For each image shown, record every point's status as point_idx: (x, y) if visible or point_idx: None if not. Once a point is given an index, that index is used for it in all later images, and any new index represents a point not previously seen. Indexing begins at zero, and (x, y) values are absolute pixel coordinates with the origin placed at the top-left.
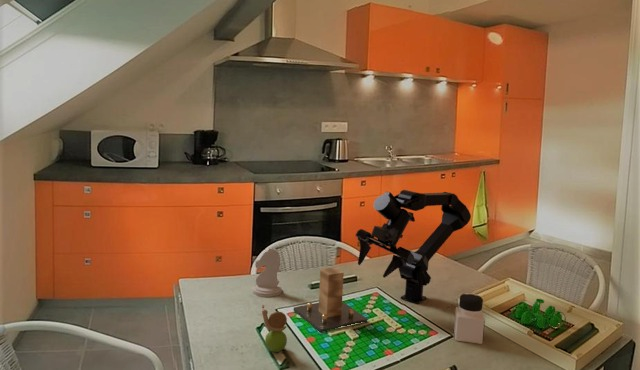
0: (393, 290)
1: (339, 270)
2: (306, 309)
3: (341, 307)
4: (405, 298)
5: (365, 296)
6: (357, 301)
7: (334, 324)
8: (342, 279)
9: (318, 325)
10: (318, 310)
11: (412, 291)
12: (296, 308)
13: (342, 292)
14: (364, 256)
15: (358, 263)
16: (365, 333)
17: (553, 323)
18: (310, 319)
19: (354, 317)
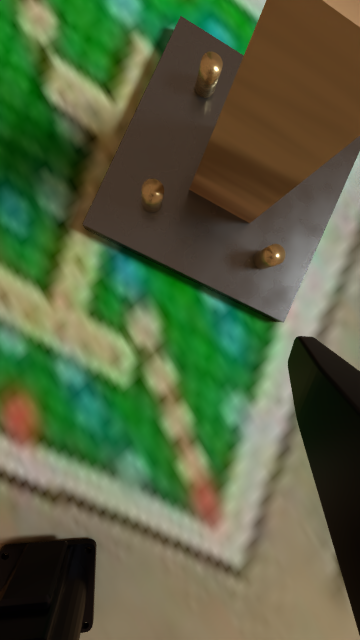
0: (166, 596)
1: (348, 13)
2: None
3: (196, 172)
4: (62, 541)
5: (225, 448)
6: (223, 380)
7: (160, 90)
8: (252, 40)
9: (203, 43)
10: None
11: (6, 587)
12: None
13: (215, 125)
14: (333, 489)
15: (304, 337)
16: (35, 130)
17: None
18: None
19: (133, 201)
